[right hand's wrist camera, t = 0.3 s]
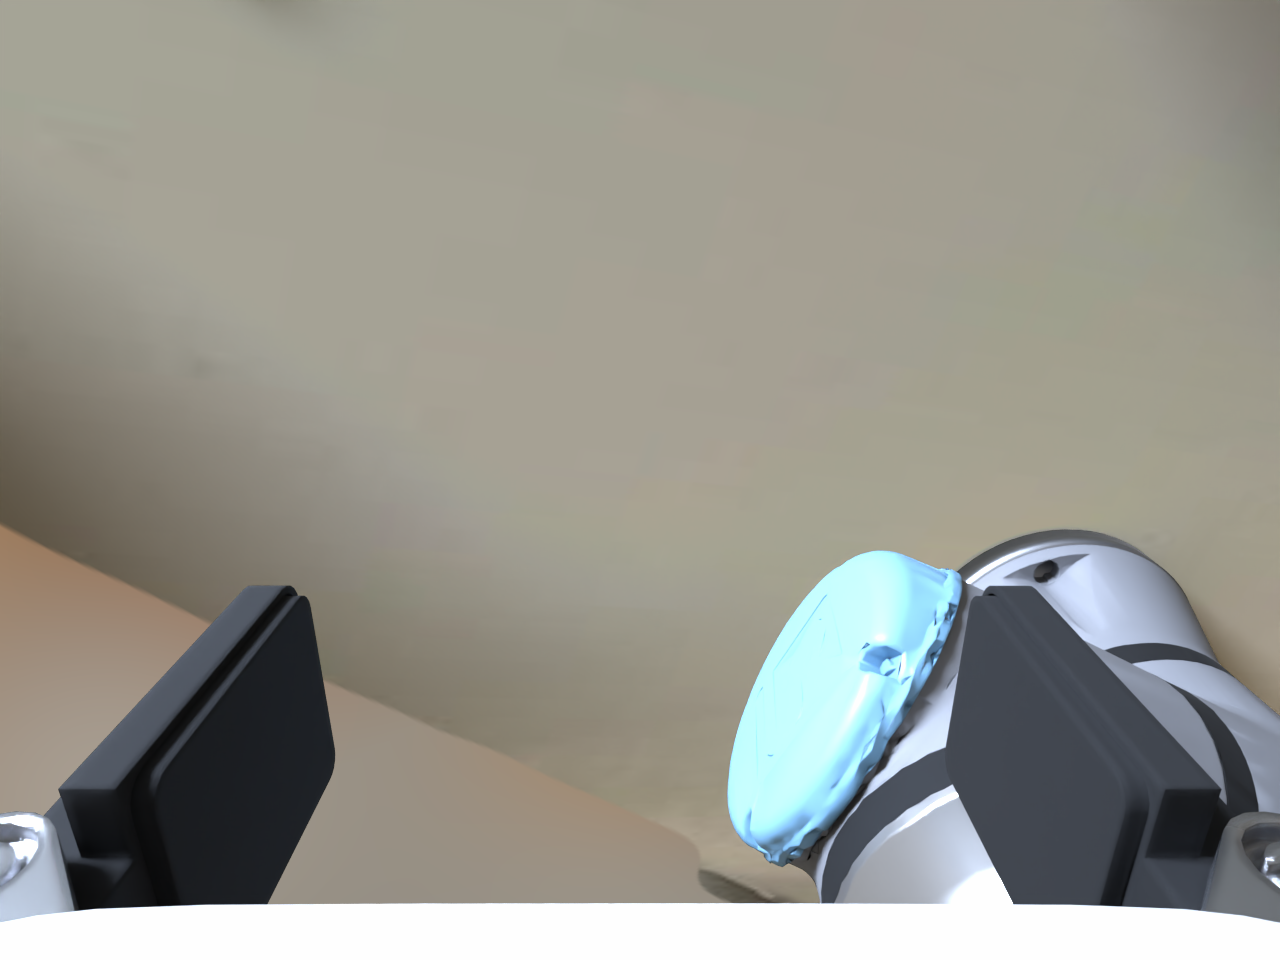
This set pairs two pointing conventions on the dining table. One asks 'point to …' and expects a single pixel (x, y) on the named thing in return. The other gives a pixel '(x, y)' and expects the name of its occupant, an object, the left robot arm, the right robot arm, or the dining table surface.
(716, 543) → the dining table surface
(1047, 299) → the dining table surface
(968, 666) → the right robot arm
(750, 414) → the dining table surface
